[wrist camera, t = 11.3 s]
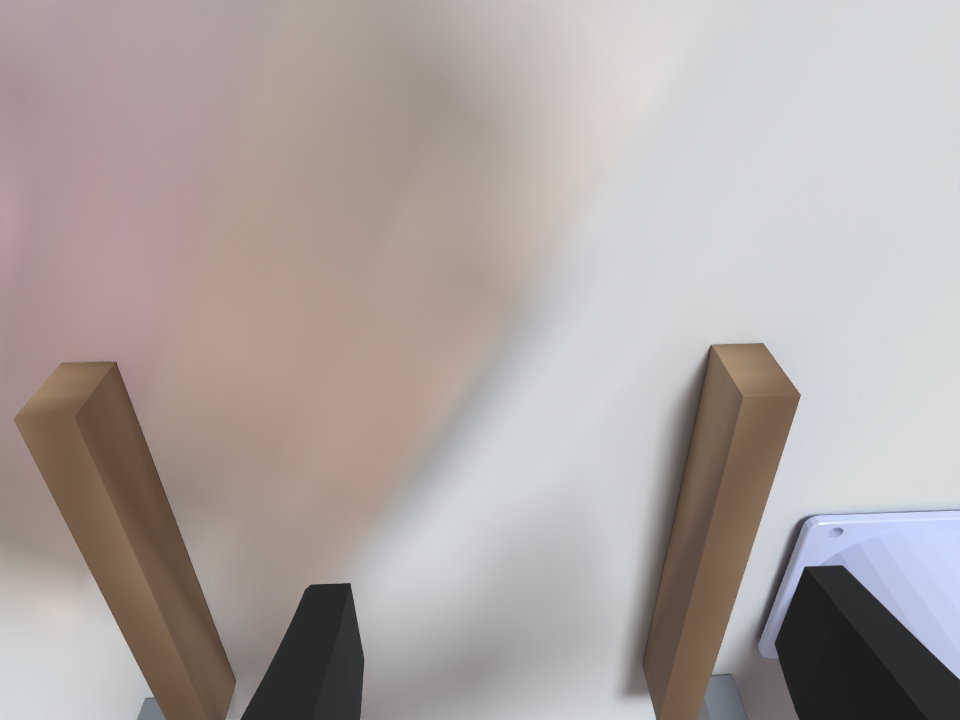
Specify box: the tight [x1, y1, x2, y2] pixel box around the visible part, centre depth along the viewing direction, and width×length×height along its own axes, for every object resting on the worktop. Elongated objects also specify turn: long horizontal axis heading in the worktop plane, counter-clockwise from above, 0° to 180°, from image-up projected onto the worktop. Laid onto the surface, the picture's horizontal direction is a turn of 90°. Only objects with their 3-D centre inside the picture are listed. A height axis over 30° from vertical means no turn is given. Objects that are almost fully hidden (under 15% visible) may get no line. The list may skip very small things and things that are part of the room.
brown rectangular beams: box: [14, 343, 801, 720], centre depth 23 cm, size 20×16×2 cm
